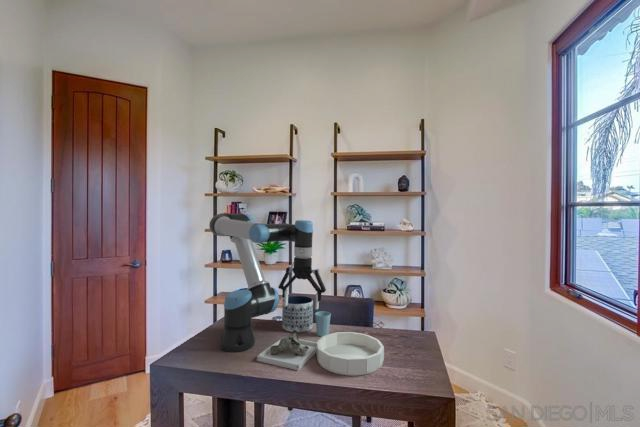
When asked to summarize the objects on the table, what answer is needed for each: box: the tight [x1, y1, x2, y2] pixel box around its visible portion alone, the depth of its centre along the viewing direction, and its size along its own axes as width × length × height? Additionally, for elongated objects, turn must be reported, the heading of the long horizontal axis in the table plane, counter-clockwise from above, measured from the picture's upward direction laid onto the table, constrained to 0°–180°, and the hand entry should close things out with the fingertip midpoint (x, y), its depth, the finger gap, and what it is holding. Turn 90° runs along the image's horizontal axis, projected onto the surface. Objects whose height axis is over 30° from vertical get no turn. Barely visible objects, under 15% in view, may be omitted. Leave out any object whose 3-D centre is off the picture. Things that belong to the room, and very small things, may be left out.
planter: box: [281, 295, 314, 333], centre depth 162 cm, size 16×16×14 cm
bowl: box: [316, 331, 385, 377], centre depth 126 cm, size 26×26×6 cm
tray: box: [256, 336, 317, 371], centre depth 130 cm, size 19×22×2 cm
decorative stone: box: [270, 330, 309, 356], centre depth 130 cm, size 16×9×10 cm, turn 84°
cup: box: [314, 310, 332, 338], centre depth 152 cm, size 8×8×10 cm
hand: (301, 307), depth 131 cm, fingers open, 13 cm apart
